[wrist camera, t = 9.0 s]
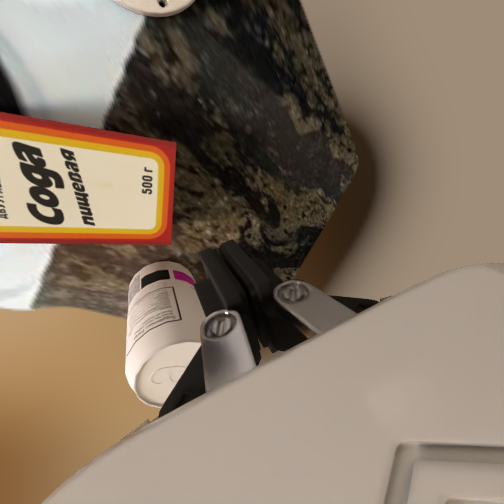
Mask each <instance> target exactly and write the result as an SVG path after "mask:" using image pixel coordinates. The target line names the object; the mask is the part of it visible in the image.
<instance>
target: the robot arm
mask: <svg viewBox="0 0 504 504" xmlns="http://www.w3.org/2000/svg"><path fill="white" fill-rule="evenodd" d="M113 1H114V2H116V3H118V4H119V5H121V6H122V7H124V8H126V9H128V10H131V11H133V12H135V13H138V14H140V15H146V16H151V17H168V16H171V15H174V14H177V13H180V12H182V11H183V10H185V9H186V8H188V7H189V6H191V4H192V3H193V2H194V1H195V0H113ZM159 2H162V3H163V4H164V8H163V7H161V6H160V5H159ZM219 253H220V255H219V254H218V252H217V251H216V249H214V250H211V249H210V248H208V249H206V250H203V251H200V252H199V256H200V259H201V261H202V264H203V267H204V270H205V273H206V276H207V279H204V280H202V281H199V282H197V283H194V284H193V286H194V288H195V291H196V293H197V296H198V298H199V301H200V304H201V306H202V309H203V311H204V314H205V316H206V318H205V319H204V320H203V322H202V324H201V326H200V339H201V346H200V347H199V349H198V351H197V352H196V354H195V355H194V357H193V358H192V360H191V362H190V363H189V365H188V366H187V368H186V369H185V371H184V373H183V374H182V376H181V377H180V379H179V380H178V382H177V384H176V385H175V387H174V388H173V390H172V391H171V393H170V394H169V396H168V398H167V399H166V401H165V402H164V404H163V406H162V408H161V410H160V412H159V416H158V417H156V418H155V419H154V420H153V421H151V422H150V421H149V419H148V420H146V421H145V422H144V423H142V424H141V425H140V426H139V427H137V428H136V429H134V430H133V431H132V432H130V433H129V434H128V435H126V436H125V437H124V438H123V439H121V440H120V441H119V442H117V443H116V444H114V445H113V446H111V447H110V448H108V449H107V450H105V451H104V452H102V453H101V454H99V455H98V456H96V457H95V458H93V459H92V460H91V461H90V462H89V463H87V464H86V465H85V466H83V467H82V468H81V469H79V470H78V471H77V472H76V473H74V474H73V475H72V476H70V478H68V479H67V480H66V481H65V482H64V483H63V484H62V485H61V486H60V487H59V488H58V489H56V490H55V491H54V492H53V493H52V494H51V495H50V496H49V497H48V498H46V500H44V501H43V502H42V504H504V264H503V263H486V264H477V265H470V266H464V267H460V268H456V269H452V270H449V271H446V272H443V273H441V274H438V275H435V276H433V277H431V278H429V279H427V280H424V281H422V282H420V283H418V284H416V285H413V286H411V287H409V288H407V289H405V290H403V291H402V292H399V293H397V294H395V295H393V296H389V297H386V298H382V299H380V302H378V301H375V300H369V299H361V298H351V297H340V296H329V295H327V294H325V293H323V292H322V291H320V290H319V289H317V288H315V287H314V286H312V285H310V284H309V283H307V282H305V281H303V280H298V279H293V280H287V281H284V282H283V281H282V280H281V279H280V278H279V277H278V276H277V275H276V274H275V273H274V272H273V271H272V270H271V269H270V268H269V267H268V266H267V265H266V264H265V263H264V262H263V261H262V260H261V259H260V258H257V259H254V260H252V259H251V258H250V257H249V256H248V255H247V254H246V253H245V252H244V251H243V250H242V249H241V248H240V247H239V245H238V244H237V243H236V242H235V241H234V240H230V241H227V242H225V243H222V247H220V248H219ZM258 339H259V341H260V343H261V344H262V346H263V347H264V348H265V347H267V346H268V347H269V349H270V350H271V352H272V353H274V352H276V351H278V350H280V351H285V352H283V353H281V354H279V355H277V356H275V357H273V358H271V359H269V360H267V361H265V362H264V363H262V364H260V365H259V362H260V360H261V355H260V345H259V341H258Z"/></svg>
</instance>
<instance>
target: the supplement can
mask: <svg viewBox="0 0 504 504" xmlns="http://www.w3.org/2000/svg"><path fill="white" fill-rule="evenodd" d="M194 283H196V282H195V279H194V277H193V276H192V274H191V273H190V271H189V270H188V269H187V268H185V267H184V266H182V265H181V264H179V263H174V262H170V261H163V262H155V263H152V264H150V265H147V266H145V267H144V268H142V269H141V270H140V271H139V272H137V273H136V274H135V276H134V277H133V279H132V281H131V283H130V286H129V295H128V319H127V344H126V369H125V375H126V378H127V380H128V382H129V385H130V387H131V388H132V389H133V390H134V391H135V392H136V395H137V397H138V399H140V400H141V401H142V402H144V403H145V404H146V405H149V406H153V407H157V408H162V406H163V404H164V402H165V401H166V399H167V398H168V396H169V394H170V393H171V391H172V390H173V388H174V387H175V385H176V384H177V382H178V380H179V379H180V377H181V376H182V374H183V373H184V371H185V369H186V368H187V366H188V365H189V363H190V362H191V360H192V358H193V357H194V355H195V354H196V352H197V351H198V349H199V347H200V346H201V339H200V326H201V324H202V322H203V320H204V319H205V318H206V316H205V314H204V311H203V309H202V306H201V304H200V301H199V298H198V296H197V293H196V291H195V288H194V286H193V284H194Z"/></svg>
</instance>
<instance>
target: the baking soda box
mask: <svg viewBox="0 0 504 504" xmlns="http://www.w3.org/2000/svg"><path fill="white" fill-rule="evenodd" d="M175 159H176V142H171V141H165V140H159V139H153V138H148V137H142V136H136V135H130V134H125V133H119V132H113V131H107V130H102V129H96V128H90V127H84V126H79V125H73V124H67V123H61V122H55V121H50V120H44V119H38V118H32V117H27V116H21V115H15V114H9V113H4V112H0V243H46V244H156V245H171V240H172V219H173V199H174V179H175Z"/></svg>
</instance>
